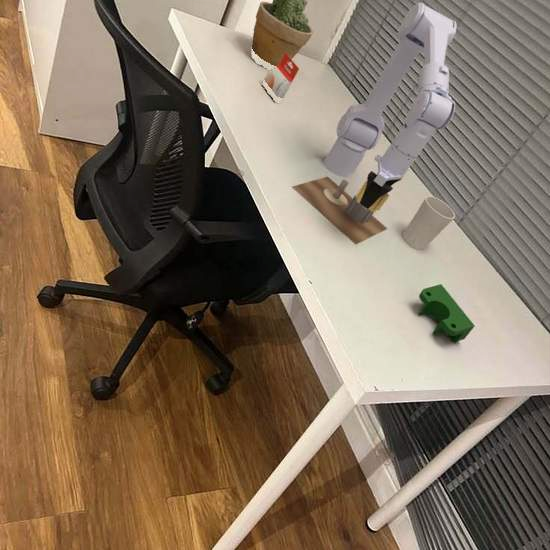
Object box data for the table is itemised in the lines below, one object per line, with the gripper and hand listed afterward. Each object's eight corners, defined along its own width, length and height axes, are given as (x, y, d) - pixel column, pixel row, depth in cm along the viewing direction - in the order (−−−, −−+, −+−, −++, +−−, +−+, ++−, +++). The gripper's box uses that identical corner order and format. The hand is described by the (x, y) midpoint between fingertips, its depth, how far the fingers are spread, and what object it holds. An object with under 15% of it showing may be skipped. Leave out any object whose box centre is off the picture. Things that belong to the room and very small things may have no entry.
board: (325, 180, 138) (336, 161, 134) (384, 232, 132) (398, 214, 129) (289, 190, 126) (300, 170, 122) (353, 248, 120) (367, 228, 117)
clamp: (406, 324, 117) (413, 286, 113) (428, 317, 119) (435, 280, 115) (448, 353, 107) (456, 313, 103) (470, 346, 110) (479, 306, 106)
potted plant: (244, 41, 186) (276, -34, 171) (293, 67, 189) (328, -4, 175) (236, 58, 171) (270, -23, 157) (289, 85, 175) (328, 9, 160)
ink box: (274, 102, 159) (292, 66, 152) (260, 85, 164) (277, 49, 157) (281, 104, 161) (299, 69, 154) (268, 87, 166) (285, 52, 159)
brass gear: (363, 192, 121) (373, 178, 119) (382, 209, 120) (393, 194, 117) (351, 197, 117) (361, 182, 115) (371, 214, 115) (381, 199, 113)
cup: (425, 245, 137) (455, 209, 130) (423, 261, 130) (454, 223, 123) (398, 229, 137) (426, 191, 130) (394, 243, 130) (424, 205, 123)
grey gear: (353, 205, 132) (362, 192, 130) (370, 220, 130) (380, 207, 128) (342, 210, 128) (350, 196, 125) (359, 225, 126) (369, 212, 124)
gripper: (397, 130, 116) (363, 180, 124) (378, 145, 105) (342, 200, 113) (425, 149, 116) (389, 199, 123) (408, 167, 104) (370, 220, 112)
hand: (368, 201), depth 118 cm, fingers closed on brass gear, 6 cm apart
